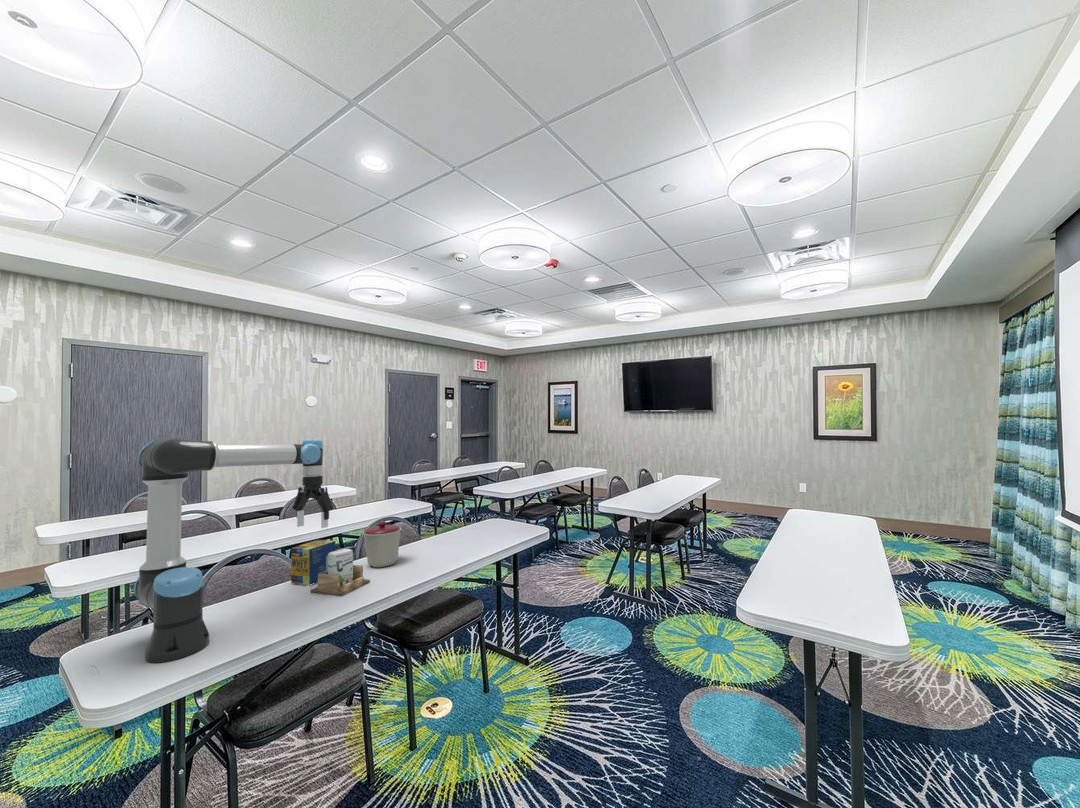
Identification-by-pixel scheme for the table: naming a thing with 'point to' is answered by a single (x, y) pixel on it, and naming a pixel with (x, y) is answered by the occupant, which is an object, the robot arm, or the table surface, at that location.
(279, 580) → the table surface
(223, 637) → the table surface
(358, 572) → the peg frame
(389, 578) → the table surface
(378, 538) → the canister
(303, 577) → the protein box
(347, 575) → the ink box
